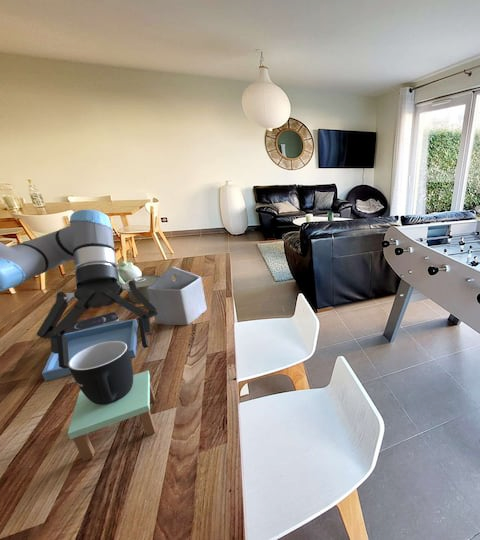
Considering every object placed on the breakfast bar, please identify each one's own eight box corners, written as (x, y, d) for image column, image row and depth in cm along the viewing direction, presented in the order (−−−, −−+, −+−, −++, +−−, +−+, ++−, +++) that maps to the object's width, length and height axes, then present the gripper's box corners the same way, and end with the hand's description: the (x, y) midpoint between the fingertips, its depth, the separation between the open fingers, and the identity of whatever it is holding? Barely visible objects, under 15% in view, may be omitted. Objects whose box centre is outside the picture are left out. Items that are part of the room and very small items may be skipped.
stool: (81, 463, 55) (67, 433, 52) (91, 418, 64) (79, 390, 61) (156, 433, 61) (148, 405, 58) (156, 396, 70) (148, 370, 67)
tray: (45, 381, 73) (41, 373, 72) (63, 341, 88) (60, 334, 87) (135, 356, 83) (133, 349, 82) (137, 324, 98) (135, 318, 97)
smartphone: (119, 319, 99) (58, 336, 88) (119, 321, 99) (59, 339, 89) (114, 311, 104) (56, 326, 93) (115, 313, 104) (57, 329, 93)
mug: (85, 390, 61) (69, 351, 57) (137, 372, 66) (125, 335, 63) (83, 429, 53) (64, 387, 49) (143, 405, 58) (130, 365, 54)
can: (140, 305, 110) (136, 289, 107) (122, 298, 114) (118, 282, 112) (171, 293, 120) (168, 278, 117) (154, 287, 124) (150, 272, 122)
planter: (159, 333, 94) (145, 279, 87) (155, 323, 99) (142, 271, 92) (212, 317, 104) (204, 268, 97) (206, 309, 109) (197, 261, 102)
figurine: (145, 282, 128) (139, 262, 124) (96, 293, 118) (89, 270, 114) (141, 275, 135) (135, 255, 131) (95, 285, 124) (87, 263, 120)
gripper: (161, 267, 78) (175, 342, 72) (29, 286, 65) (33, 379, 59) (157, 254, 72) (172, 335, 66) (11, 272, 59) (13, 374, 53)
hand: (107, 356), depth 62 cm, fingers open, 13 cm apart
